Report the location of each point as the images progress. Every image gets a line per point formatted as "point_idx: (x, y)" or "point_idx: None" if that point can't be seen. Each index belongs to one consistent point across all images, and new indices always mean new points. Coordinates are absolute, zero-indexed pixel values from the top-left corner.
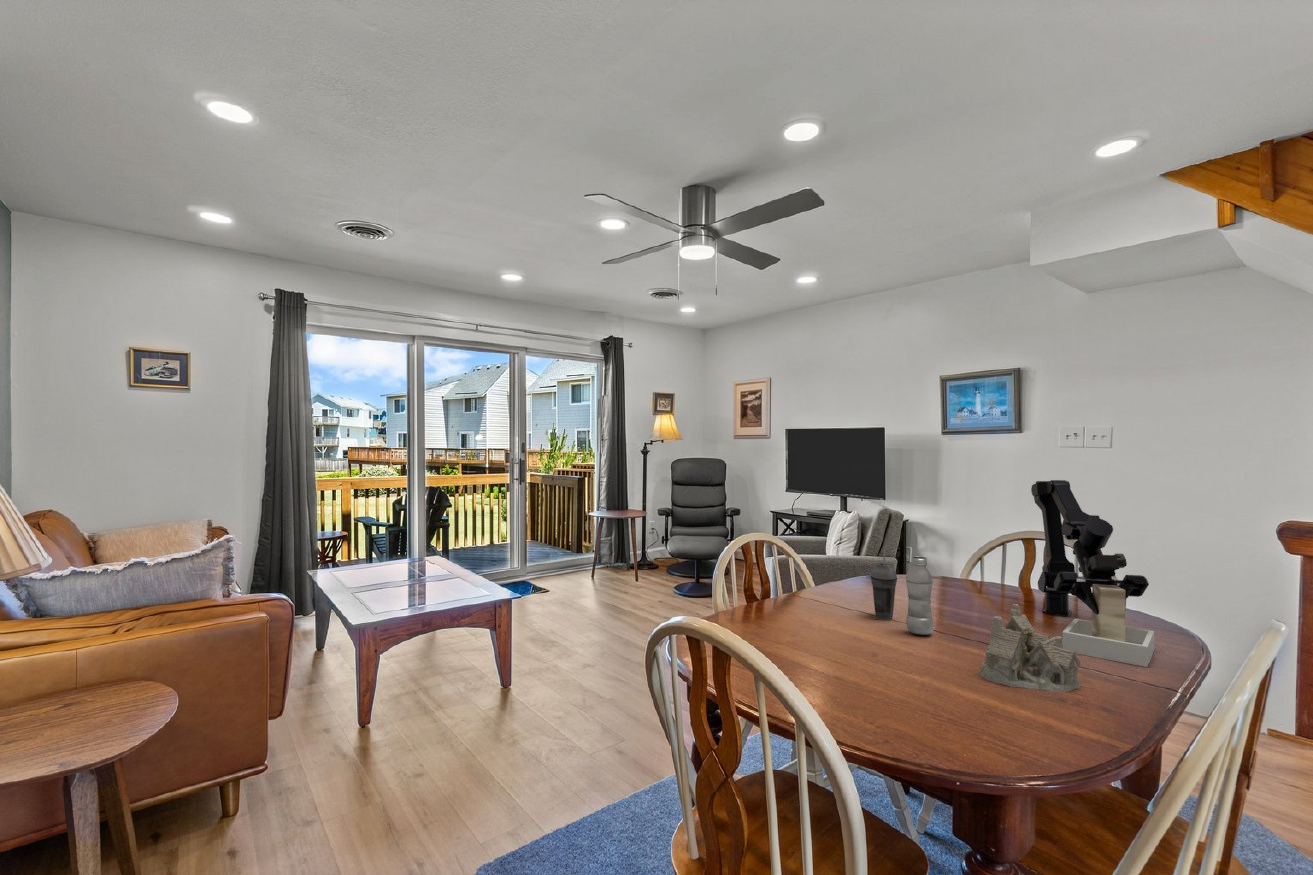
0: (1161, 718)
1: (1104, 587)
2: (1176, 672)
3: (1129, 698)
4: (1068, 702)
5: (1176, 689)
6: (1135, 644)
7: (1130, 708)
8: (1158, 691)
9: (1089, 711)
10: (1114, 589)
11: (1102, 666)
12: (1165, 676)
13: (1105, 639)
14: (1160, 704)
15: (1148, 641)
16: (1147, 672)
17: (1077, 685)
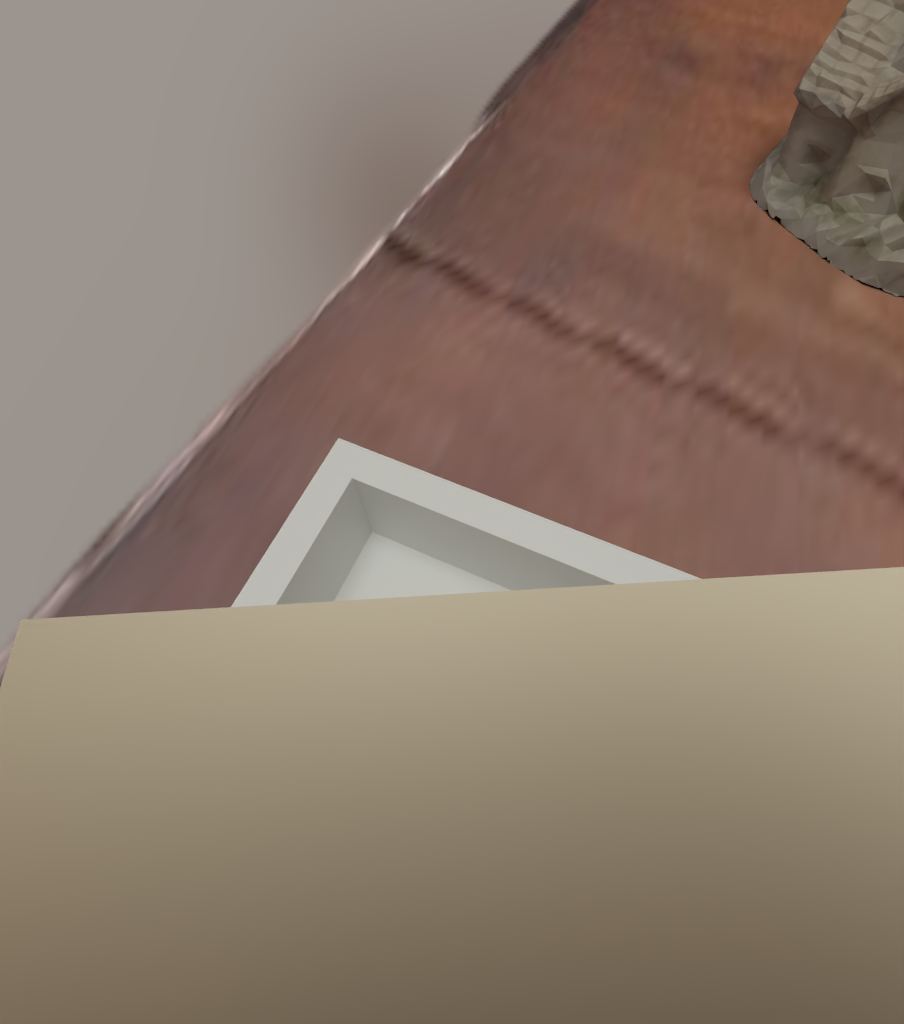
0: (544, 52)
1: (833, 1016)
2: (244, 469)
3: (593, 141)
4: (792, 71)
5: (378, 256)
6: (398, 474)
7: (612, 82)
8: (462, 220)
9: (735, 40)
10: (432, 634)
11: (613, 445)
12: (340, 391)
13: (589, 541)
14: (506, 126)
15: (246, 597)
16: (404, 422)
17: (764, 161)
